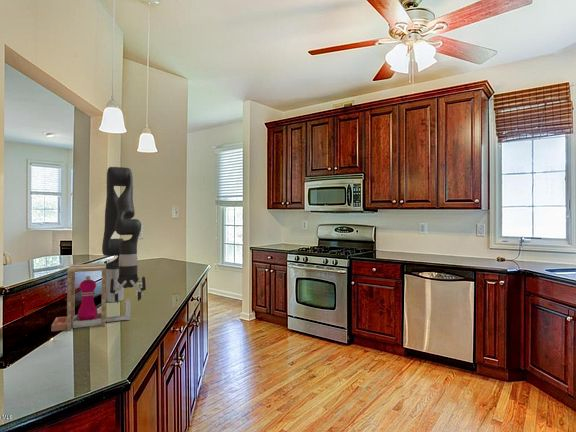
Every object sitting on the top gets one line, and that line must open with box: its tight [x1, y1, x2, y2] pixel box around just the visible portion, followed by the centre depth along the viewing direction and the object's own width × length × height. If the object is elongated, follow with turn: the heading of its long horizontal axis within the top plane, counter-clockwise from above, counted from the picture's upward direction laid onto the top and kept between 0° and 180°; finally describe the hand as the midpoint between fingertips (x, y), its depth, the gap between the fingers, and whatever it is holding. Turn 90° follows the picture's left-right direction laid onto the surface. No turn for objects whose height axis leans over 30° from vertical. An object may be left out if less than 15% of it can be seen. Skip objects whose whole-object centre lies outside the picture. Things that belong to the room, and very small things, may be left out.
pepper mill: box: [77, 275, 98, 321], centre depth 150 cm, size 7×7×20 cm
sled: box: [71, 298, 131, 329], centre depth 153 cm, size 11×22×8 cm, turn 116°
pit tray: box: [50, 316, 67, 332], centre depth 146 cm, size 12×5×2 cm, turn 26°
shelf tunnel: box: [66, 262, 107, 332], centre depth 150 cm, size 15×13×24 cm
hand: (128, 301), depth 157 cm, fingers open, 8 cm apart
